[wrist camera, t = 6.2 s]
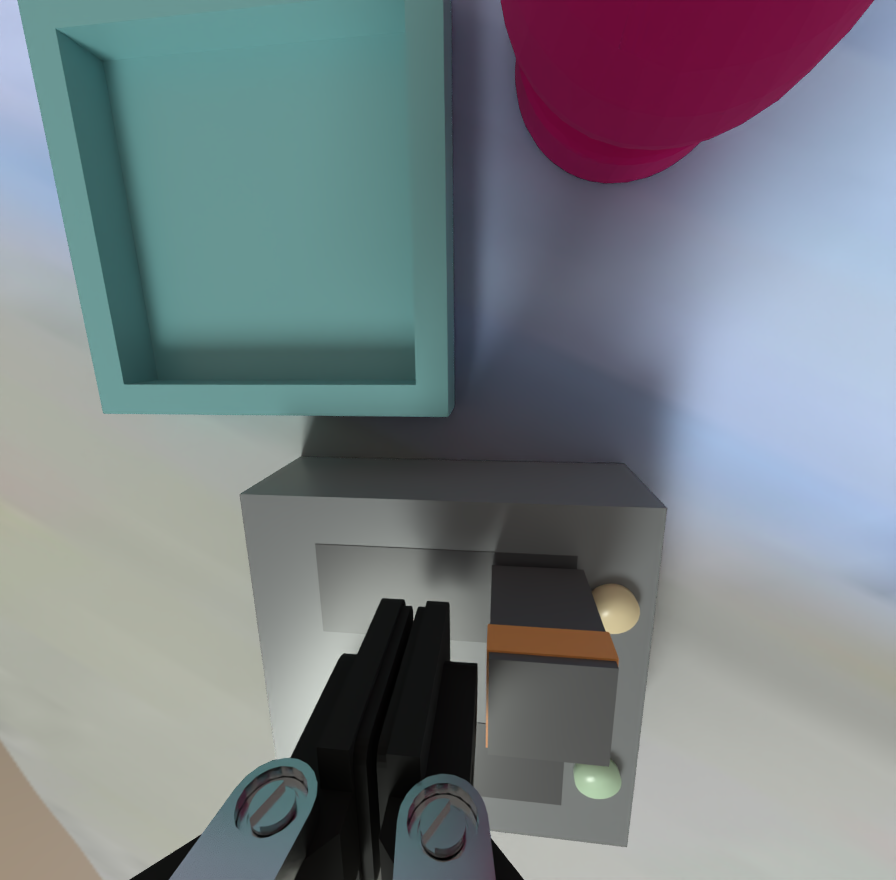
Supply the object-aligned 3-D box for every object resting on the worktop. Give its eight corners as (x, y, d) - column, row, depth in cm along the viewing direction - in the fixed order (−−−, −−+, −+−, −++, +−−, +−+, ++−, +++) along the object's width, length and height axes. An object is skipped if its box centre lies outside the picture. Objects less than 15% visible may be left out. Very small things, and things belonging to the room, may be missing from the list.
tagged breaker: (585, 568, 12) (621, 666, 8) (580, 646, 12) (611, 768, 9) (490, 563, 12) (486, 656, 9) (489, 639, 13) (485, 756, 9)
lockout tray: (451, -2, 12) (442, -63, 11) (454, 406, 15) (448, 417, 13) (82, 36, 14) (15, -11, 12) (149, 404, 17) (103, 413, 15)
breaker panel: (624, 463, 15) (671, 512, 11) (599, 737, 18) (629, 858, 14) (300, 456, 16) (233, 497, 12) (325, 711, 19) (278, 814, 15)
